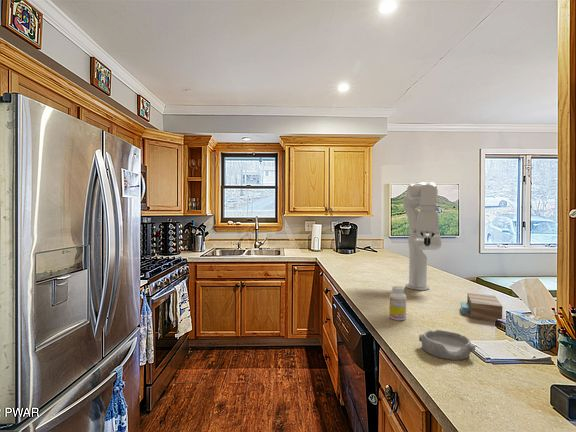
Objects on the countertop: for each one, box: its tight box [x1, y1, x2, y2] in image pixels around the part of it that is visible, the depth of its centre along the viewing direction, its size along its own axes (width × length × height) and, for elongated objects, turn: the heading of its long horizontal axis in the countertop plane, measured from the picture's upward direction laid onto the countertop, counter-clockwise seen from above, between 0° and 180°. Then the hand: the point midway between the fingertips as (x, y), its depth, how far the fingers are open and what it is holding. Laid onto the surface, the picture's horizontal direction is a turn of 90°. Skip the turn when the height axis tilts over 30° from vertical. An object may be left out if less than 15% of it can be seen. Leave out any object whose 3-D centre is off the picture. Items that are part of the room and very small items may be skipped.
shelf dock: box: [464, 292, 503, 322], centre depth 142 cm, size 18×13×6 cm
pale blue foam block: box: [460, 301, 471, 315], centre depth 143 cm, size 9×12×3 cm
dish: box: [418, 329, 476, 361], centre depth 104 cm, size 14×14×5 cm
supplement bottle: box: [389, 285, 407, 321], centre depth 135 cm, size 7×7×13 cm
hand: (427, 246), depth 162 cm, fingers closed
